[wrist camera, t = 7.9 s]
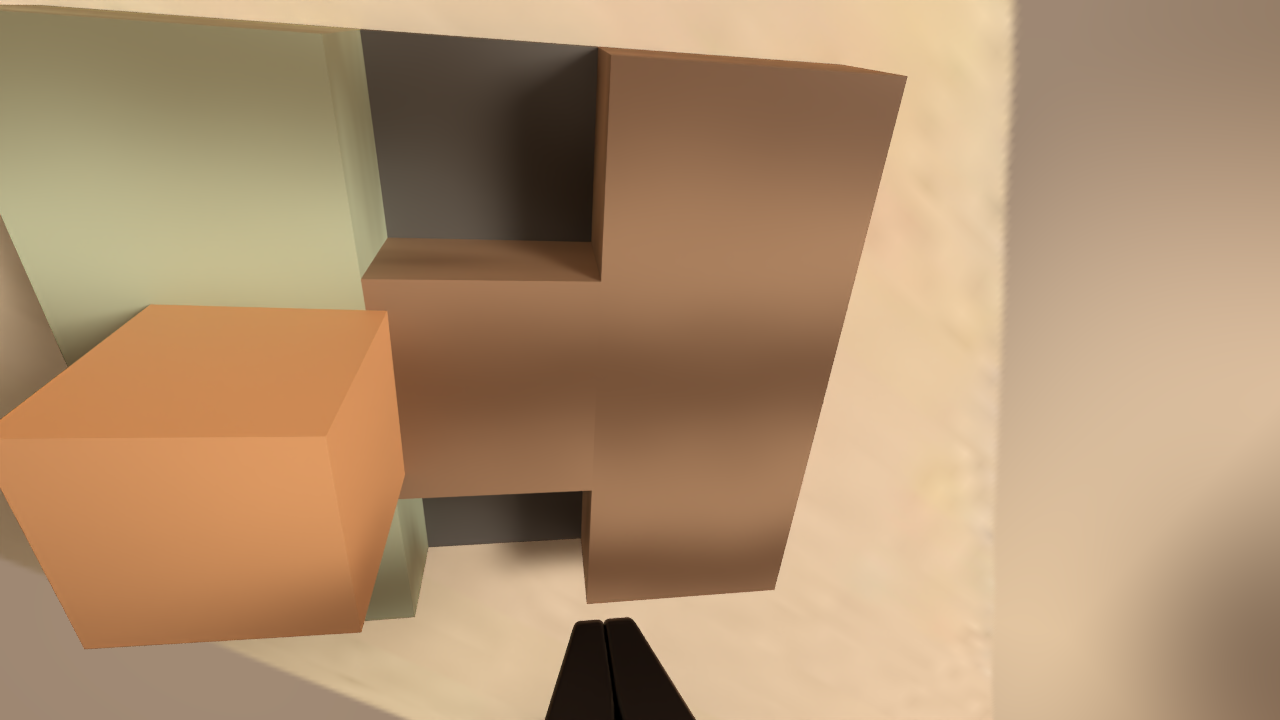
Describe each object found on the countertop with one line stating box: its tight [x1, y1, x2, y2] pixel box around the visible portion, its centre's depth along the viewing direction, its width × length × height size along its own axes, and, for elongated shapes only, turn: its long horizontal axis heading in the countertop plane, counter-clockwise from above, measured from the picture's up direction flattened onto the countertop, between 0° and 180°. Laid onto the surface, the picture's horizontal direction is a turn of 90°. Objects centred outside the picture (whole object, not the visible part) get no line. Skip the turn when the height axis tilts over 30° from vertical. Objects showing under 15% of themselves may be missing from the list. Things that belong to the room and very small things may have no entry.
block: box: [0, 304, 405, 649], centre depth 12 cm, size 4×4×4 cm
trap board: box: [0, 5, 907, 621], centre depth 16 cm, size 15×17×3 cm
